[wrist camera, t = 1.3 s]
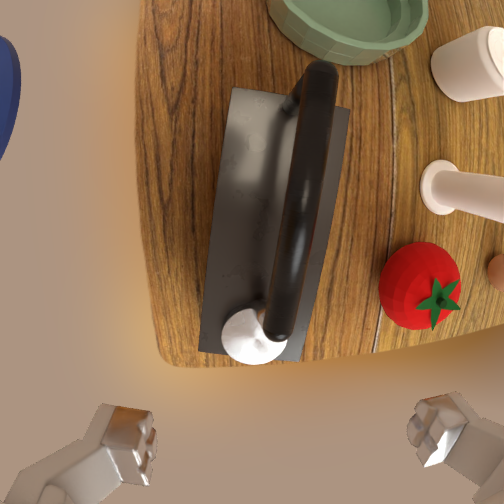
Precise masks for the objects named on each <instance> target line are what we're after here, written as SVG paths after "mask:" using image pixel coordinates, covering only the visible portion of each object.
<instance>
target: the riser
mask: <svg viewBox="0 0 504 504" xmlns="http://www.w3.org/2000/svg"><path fill="white" fill-rule="evenodd" d="M287 96H288V95H283V94H277V93H271V92H265V91H259V90H252V89H245V88H238V87H232V92H231V97H230V103H229V109H228V115H227V121H226V128H225V134H224V140H223V147H222V154H221V160H220V167H219V174H218V181H217V188H216V195H215V203H214V210H213V218H212V226H211V234H210V242H209V250H208V259H207V267H206V276H205V285H204V295H203V304H202V314H201V325H200V335H199V347H198V351H200V352H207V353H214V354H222V355H229V354H228V353H227V352H226V351H225V349H224V347H223V345H222V340H221V333H222V325H223V322H224V320H225V318H226V317H227V315H228V314H229V313H230V312H231V311H232V310H234V309H235V308H237V307H239V306H241V305H244V304H248V303H253V302H254V301H255V300H257V299H265V300H266V301H267V298H268V293H269V287H270V282H271V276H272V271H273V265H274V259H275V254H276V248H277V242H278V236H279V231H280V225H281V219H282V213H283V207H284V201H285V195H286V189H287V183H288V177H289V171H290V164H291V158H292V152H293V146H294V139H295V133H296V126H297V120H298V114H297V115H289V114H287V113H286V112H285V111H284V109H283V102H284V100H285V99H286V98H287ZM349 115H350V109H347V108H343V107H339V106H335V111H334V118H333V125H332V132H331V138H330V145H329V151H328V158H327V164H326V170H325V176H324V182H323V188H322V194H321V199H320V205H319V210H318V216H317V221H316V226H315V232H314V237H313V242H312V247H311V252H310V257H309V262H308V267H307V271H306V276H305V281H304V286H303V290H302V295H301V299H300V304H299V308H298V313H297V317H296V321H295V326H294V330H293V333H292V335H291V336H290V337H289V338H288V341H287V344H286V346H285V348H284V350H283V351H282V352H281V354H280V355H279V356H277V357H276V358H275V359H273V360H282V361H295V362H299V361H300V357H301V354H302V350H303V346H304V342H305V338H306V335H307V331H308V327H309V323H310V319H311V315H312V311H313V306H314V302H315V298H316V294H317V289H318V285H319V281H320V276H321V272H322V267H323V263H324V258H325V253H326V249H327V244H328V239H329V234H330V229H331V224H332V219H333V213H334V208H335V203H336V197H337V192H338V186H339V180H340V174H341V168H342V162H343V156H344V149H345V143H346V136H347V129H348V122H349Z"/></svg>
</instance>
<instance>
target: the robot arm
mask: <svg viewBox="0 0 504 504" xmlns="http://www.w3.org/2000/svg"><path fill="white" fill-rule="evenodd" d="M415 412H416V414H415V415H414V416H413V417H412V418H411V419H410V420H409V423H408V425H407V436H408V440H409V441H410V443H411V445H413V446H415V447H417V452H416V454H417V456H418V458H419V459H420V462H421V463H422V465H423V467H426V466H429V465H433V464H436V463H439V462H443V461H444V463H445V464H447V465H448V466H450V467H451V468H453V469H454V470H456V471H457V472H459V473H461V474H462V475H463V476H465V477H466V478H468V479H469V480H471V481H472V482H474V483H475V484H477V485H478V486H480V489H479V490H478V491H477V492H476V493H475V494H474V496H473V498H472V499H473V501H474V503H475V504H504V426H502V425H500V424H498V423H495V422H492V421H491V420H488V419H486V418H482V419H481V418H480V417H479V416H478V414H477V413H476V412H475V411H474V410H473V408H472V407H471V406H470V405H469V404H468V402H467V401H466V400H465V399H464V398H463V396H462V395H461V394H460V393H458V392H456V391H455V392H451V393H448V394H444V395H440V396H436V397H431V398H427V399H422V400H420V401H419V402H418V403H417V404H416V406H415ZM152 424H153V416H152V412H150V411H146V410H139V409H133V408H127V407H121V406H113V405H108V404H103V403H102V404H101V405H100V406H99V407H98V409H97V411H96V413H95V415H94V417H93V419H92V421H91V423H90V425H89V427H88V430H87V432H86V434H85V436H84V438H83V440H79V439H78V440H76V441H74V442H72V443H71V444H69V445H67V446H65V447H64V448H62V449H60V450H58V451H56V452H55V453H53V454H51V455H49V456H47V457H46V458H44V459H42V460H40V461H39V462H36V463H35V464H33V465H31V466H29V467H27V468H25V469H23V470H21V471H20V472H19V474H18V476H17V478H16V480H15V481H14V483H13V485H12V487H11V489H10V491H9V493H8V495H7V497H6V499H5V500H4V502H2V501H0V504H99V503H100V502H101V501H102V500H103V499H104V498H106V497H107V496H108V495H109V494H110V493H111V492H112V491H114V490H115V489H116V488H117V487H118V486H119V485H120V484H121V482H123V483H129V484H135V485H142V486H149V484H150V480H151V475H152V471H153V469H152V466H151V461H153V460H154V459H155V458H156V453H157V434H156V430H155V429H154V428H153V427H152Z"/></svg>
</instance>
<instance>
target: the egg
mask: <svg viewBox="0 0 504 504" xmlns="http://www.w3.org/2000/svg"><path fill="white" fill-rule="evenodd" d="M487 274H488V278H489V281H490V283H491V284H492V286H493V287H494V288H496V289H497V290H499V291H502V292H504V254H500V255H497V256H495V257H494V258H493V259H492V260H491V261H490V263H489V265H488V271H487Z"/></svg>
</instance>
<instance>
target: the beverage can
mask: <svg viewBox="0 0 504 504" xmlns="http://www.w3.org/2000/svg"><path fill="white" fill-rule="evenodd" d="M431 69H432V73H433V76H434V79H435V81H436V83H437V85H438V86H439V88H440V89H441V90H442V91H443V93H444V94H445V95H447V96H448V97H449V98H451V99H452V100H455V101H457V102H467V101H472V100H478V99H484V98H489V97H496V96H502V95H504V29H503V28H500V27H492V26H485V27H482V28H480V29H477V30H475V31H473V32H471V33H468V34H466V35H464V36H462V37H460V38H457V39H455V40H453V41H451V42H449V43H447V44H445V45H443V46H441V47H439V48H437V49H436V50H435V51H434V52H433V55H432V58H431Z"/></svg>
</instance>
